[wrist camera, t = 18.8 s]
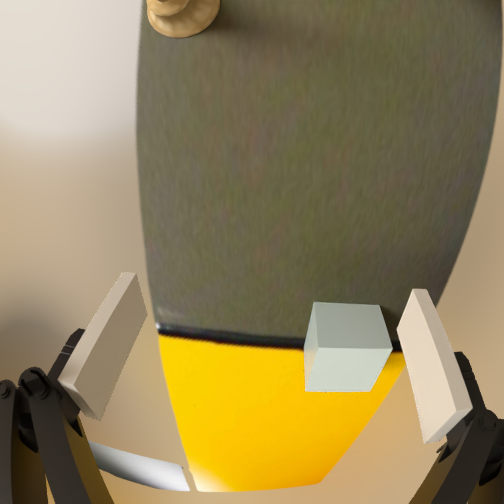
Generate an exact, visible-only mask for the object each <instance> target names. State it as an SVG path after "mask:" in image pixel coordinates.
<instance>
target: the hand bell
mask: <svg viewBox="0 0 504 504" xmlns="http://www.w3.org/2000/svg"><path fill="white" fill-rule="evenodd" d="M147 5H148V8H147V14H148V18H149V21H150V23H151V25H152V27H153V28H154V29H155V30H156V31H157V32H159V33H160V34H162V35H164V36H167V37H172V38H185V37H190V36H193V35H195V34H197V33H199V32H201V31H202V30H204V29H205V28H207V27H208V26H209V25H210V24H211V23H212V21H213V20H214V19H215V17H216V15H217V13H218V11H219V7H220V0H147Z"/></svg>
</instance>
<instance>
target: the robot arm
mask: <svg viewBox="0 0 504 504" xmlns="http://www.w3.org/2000/svg"><path fill="white" fill-rule="evenodd" d="M146 317H147V311H146V308H145V304H144V301H143V297H142V293H141V290H140V286H139V282H138V278H137V275H136V273H129V272H122V273H121V275H120V276H119V278H118V280H117V281H116V283H115V284H114V286H113V287H112V289H111V290H110V292H109V294H108V295H107V297H106V298H105V300H104V301H103V303H102V304H101V306H100V308H99V309H98V311H97V312H96V314H95V316H94V317H93V319H92V320H91V322H90V324H89V325H88V327H87V329H86V330H84V329H80V328H79V329H78V330H77V331H75V332H74V333H73V334H72V335H71V336H70V337H69V339H68V341H67V342H66V344H65V346H64V347H63V349H62V351H61V353H60V354H59V356H58V358H57V360H56V361H55V363H54V364H53V366H52V368H51V370H50V371H49V373H48V375H47V376H46V374H45V373H44V371H42V370H41V369H40V368H37V367H31V368H29V369H27V370H25V371H24V372H23V373H22V374H21V376H20V378H19V381H18V385H19V386H20V387H16V386H15V384H14V383H13V382H12V381H10V380H2V381H0V504H48V498H47V488H46V477H47V480H48V483H49V486H50V489H51V492H52V495H53V498H54V501H55V504H114V502H113V500H112V498H111V496H110V494H109V492H108V490H107V487H106V485H105V483H104V481H103V478H102V476H101V474H100V471H99V469H98V466H97V464H96V462H95V459H94V457H93V454H92V451H91V449H90V446H89V443H88V441H87V438H86V435H85V432H84V429H83V426H82V423H81V420H80V418H79V416H78V414H79V412H80V410H81V411H82V412H83V413H84V415H86V416H87V417H90V418H93V419H96V420H99V421H100V420H101V419H102V416H103V414H104V412H105V409H106V406H107V404H108V402H109V399H110V397H111V395H112V392H113V390H114V387H115V385H116V382H117V380H118V378H119V376H120V374H121V371H122V369H123V366H124V364H125V362H126V360H127V358H128V355H129V353H130V351H131V349H132V347H133V345H134V342H135V340H136V338H137V336H138V334H139V331H140V329H141V327H142V325H143V323H144V321H145V319H146ZM397 333H398V336H399V340H400V343H401V347H402V350H403V354H404V357H405V361H406V365H407V369H408V372H409V377H410V380H411V385H412V389H413V393H414V397H415V402H416V406H417V411H418V416H419V420H420V425H421V431H422V436H423V441H424V444H426V443H432V442H437V441H440V440H441V439H442V438H443V437H444V436H445V435H446V436H447V442H446V443H445V444H444V445H443V446H441V447H440V448H439V449H438V450H437V453H439V452H440V451H441V452H440V454H439V456H438V458H437V459H436V461H435V463H434V465H433V466H432V468H431V470H430V471H429V473H428V475H427V476H426V478H425V480H424V481H423V483H422V484H421V486H420V488H419V489H418V491H417V492H416V494H415V495H414V497H413V498H412V500H411V501H410V503H409V504H467V502H468V504H504V419H498V418H497V416H496V415H495V414H494V413H493V412H492V411H490V410H487V409H486V407H485V404H484V401H483V398H482V395H481V392H480V390H479V387H478V384H477V381H476V380H475V376H474V373H473V372H472V368H471V365H470V363H469V360H468V359H467V358H466V356H465V355H464V354H463V353H462V352H453V350H452V347H451V345H450V342H449V340H448V337H447V335H446V333H445V330H444V328H443V325H442V323H441V321H440V318H439V316H438V314H437V311H436V309H435V307H434V305H433V303H432V300H431V298H430V296H429V294H428V292H427V290H426V289H412V292H411V295H410V297H409V300H408V303H407V305H406V308H405V310H404V313H403V315H402V318H401V320H400V323H399V325H398V327H397ZM45 474H46V477H45Z"/></svg>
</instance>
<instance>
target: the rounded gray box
mask: <svg viewBox="0 0 504 504" xmlns="http://www.w3.org/2000/svg"><path fill="white" fill-rule="evenodd" d="M392 349H393V348H392V344H391V341H390V338H389V334H388V331H387V328H386V325H385V321H384V318H383V315H382V312H381V309H380V306H379V305H365V304H343V303H325V302H314V304H313V309H312V314H311V318H310V323H309V327H308V332H307V336H306V341H305V345H304V364H305V391H316V392H361V391H370V390H371V389H372V387H373V385H374V383H375V381H376V380H377V378H378V376H379V374H380V372H381V370H382V368H383V367H384V365H385V363H386V361H387V359H388V357H389V355H390V353H391V351H392Z"/></svg>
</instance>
